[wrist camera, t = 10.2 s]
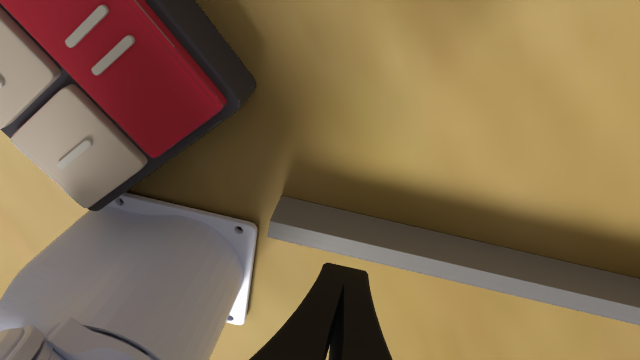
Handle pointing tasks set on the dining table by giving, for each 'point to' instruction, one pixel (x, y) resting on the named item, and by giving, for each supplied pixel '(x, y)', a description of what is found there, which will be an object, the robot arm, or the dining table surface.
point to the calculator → (112, 88)
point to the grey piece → (457, 259)
